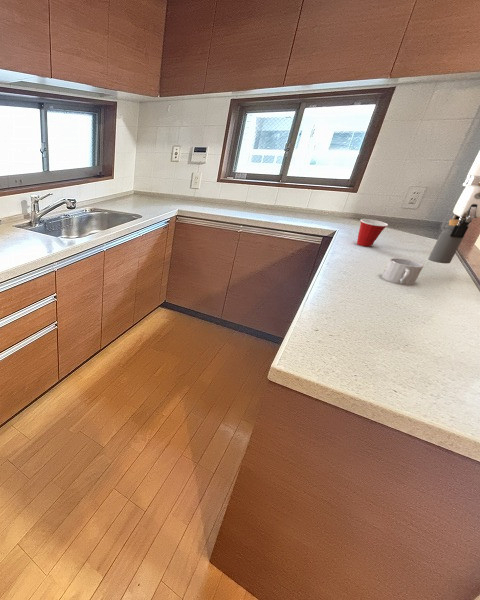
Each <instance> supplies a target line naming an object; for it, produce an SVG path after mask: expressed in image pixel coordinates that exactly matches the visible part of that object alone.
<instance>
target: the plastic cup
mask: <svg viewBox="0 0 480 600" xmlns="http://www.w3.org/2000/svg"><path fill="white" fill-rule="evenodd" d="M388 226H389V224H388V223H386V222H384V221H380V220H376V219H369V218H360V225H359V229H358V235H357V239H356V244H357V245H358V246H361V247H365V248H367V247H368V248H370V247H372V246H373V245H374V243H375V242H376V240H377V239H378V238H379V236H380V235H381V233H382V232H383V231H384V229H385V228H387V227H388Z"/></svg>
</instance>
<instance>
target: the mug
mask: <svg viewBox="0 0 480 600" xmlns="http://www.w3.org/2000/svg"><path fill="white" fill-rule="evenodd" d="M423 268H424V264H423V263H421V262H418V261H415V260H411V259H406V258H399V257H392V258H389V259H388V262H387V263H386V266H385V268H384V270H383V273H382V274H381V278H382V280H383V279H384V280H385V281H388V282H390V283H394V284H397V285H398V284H400V285H405V286H406V285H407V286H411V285H412V286H413V285H414V284H415V283H416V281H417V279H418V278H419V275H420V274H421V271H422V270H423Z"/></svg>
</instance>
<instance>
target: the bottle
mask: <svg viewBox="0 0 480 600" xmlns="http://www.w3.org/2000/svg"><path fill="white" fill-rule="evenodd" d="M457 223H458V220H457V219H452V218H450V219H449V220H448V224H447V223H446V225H445V228H446V229H447V230H446V229H445V230H442V231H441V232H440V234H439V236H438V238H437V240H436V242H435V243H434V246H433V248H432V249H431V252H430V254H429V256H428V258H427V260H428V261H430V262H433V263H438V264H451V262H452V260H453V259H454V257H455V255H456V253H457V251H458V249H459V246H460V245H461V243H462V241H463V239H464V237H463V238H457V237H450V234H451V232H452V230H453V228H454V227H455V225H457Z"/></svg>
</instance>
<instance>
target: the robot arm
mask: <svg viewBox="0 0 480 600" xmlns="http://www.w3.org/2000/svg"><path fill="white" fill-rule="evenodd" d="M461 186H463V187H464V188H463V190H462V192H461V194H460V196H459V198H458V199H457V201H456V203H455V205H454V207H453V210H452V213H453V215H452V218H451V219H457V220H458V223H457V225H455V227H454V228H453V230H452V232H451V234H450V237H457V238H463V239H464V238H465V235H466V233H467V231H468V229H469V227H470V225H471V223H472V221H473V220H474V219H479V218H480V150H479V151H478V153H477V155H476V157H475V159H474V162H473V163H472V165H471V167H470V169H469V171H468V173H467V176H466V177H465V179H464V181H463V183H462V185H461ZM445 230H447V228H446V229H445Z"/></svg>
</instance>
